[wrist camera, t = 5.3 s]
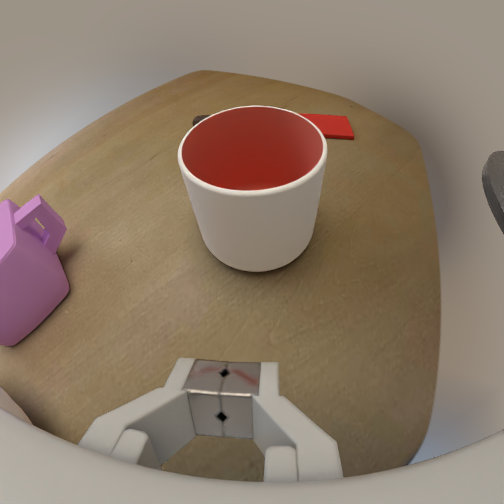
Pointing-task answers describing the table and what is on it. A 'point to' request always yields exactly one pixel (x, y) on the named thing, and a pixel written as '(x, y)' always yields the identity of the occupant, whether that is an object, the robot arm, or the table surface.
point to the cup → (254, 184)
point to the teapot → (29, 267)
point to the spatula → (319, 125)
